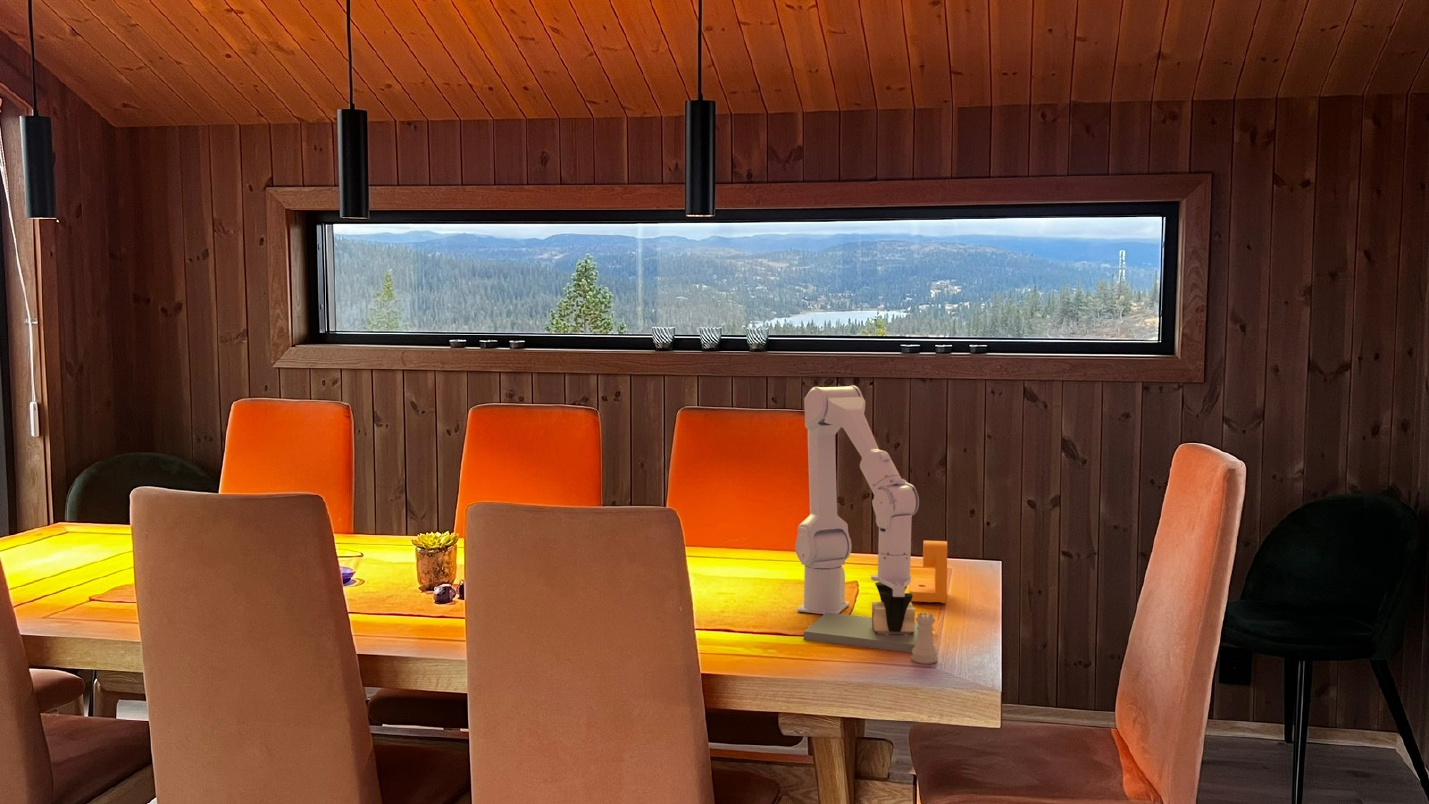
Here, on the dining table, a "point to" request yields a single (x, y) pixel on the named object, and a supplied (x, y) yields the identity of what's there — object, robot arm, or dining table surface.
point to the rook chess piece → (924, 641)
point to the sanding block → (881, 621)
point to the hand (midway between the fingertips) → (892, 626)
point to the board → (857, 633)
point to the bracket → (938, 587)
